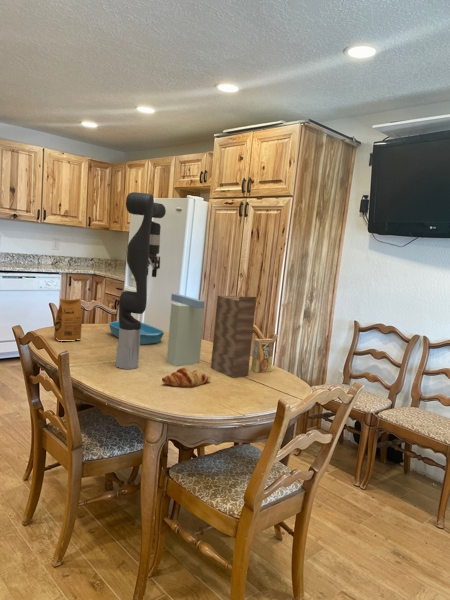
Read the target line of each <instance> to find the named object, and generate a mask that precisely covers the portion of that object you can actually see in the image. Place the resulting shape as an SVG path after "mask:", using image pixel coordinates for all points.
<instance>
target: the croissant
mask: <svg viewBox="0 0 450 600" xmlns="http://www.w3.org/2000/svg"><path fill="white" fill-rule="evenodd" d="M211 380H212V376H208V375H207V374H206V373H201V372H199V370H197V369H196V370H193V371H192V370H191V369H190V368H187V367H186V368H185V367H183V368H178V369H176V371H174V372H173V371H172V373H171V374H169V375H166V376H164V377H162V378H161V381H162V383H164V384H165V385H170V386H172V387H175V388H176V387H179V388H187V387H188V388H189V387H196V386H198V385H199V386H200V385H201V386H202V385H203V384H206V383H208V382H210V381H211Z"/></svg>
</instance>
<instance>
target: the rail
mask: <svg viewBox="0 0 450 600" xmlns="http://www.w3.org/2000/svg"><path fill="white" fill-rule="evenodd" d="M170 300H171V301H172V302H176V303H182V304H185V305H188V306H192V307H195V308H204V309H205V307H204V306H205V302H206V301H204V300H201V299H198V298H195V297H194V298H193V297H190V296H186V295H182V294H179V293H171V297H170Z"/></svg>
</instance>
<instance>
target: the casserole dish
mask: <svg viewBox="0 0 450 600" xmlns="http://www.w3.org/2000/svg"><path fill="white" fill-rule="evenodd" d="M140 322H141V321H140ZM108 326H109V329H110V332H111V334H112V335H113V336H115V337H116V336H117V338H118V337H119V320H115V321H110V322H109V323H108ZM164 334H165V331H164V330H162V329H160V328H157V327H155V326H153V325H150V324H147V323H144V322H141V332H140V344H145V345H152V344H153V343H154V344H158V343H159V342H161V340H162V338H163V337H164ZM154 344H153V345H154Z"/></svg>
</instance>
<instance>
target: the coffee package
mask: <svg viewBox="0 0 450 600" xmlns="http://www.w3.org/2000/svg"><path fill="white" fill-rule="evenodd" d="M59 302H60V304H59V306H58V309H57V313H56V315H55V319H54V320H55V323H54V334H53V335H54V336H53V337H54V339H55V338H57V339H58V340H77V339H82V338H81V337H82V326H83V325H82V323H83V321H82V320H83V311H82V304H81V303H82V301H81V298H75V299H65V298H60V299H59Z"/></svg>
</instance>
